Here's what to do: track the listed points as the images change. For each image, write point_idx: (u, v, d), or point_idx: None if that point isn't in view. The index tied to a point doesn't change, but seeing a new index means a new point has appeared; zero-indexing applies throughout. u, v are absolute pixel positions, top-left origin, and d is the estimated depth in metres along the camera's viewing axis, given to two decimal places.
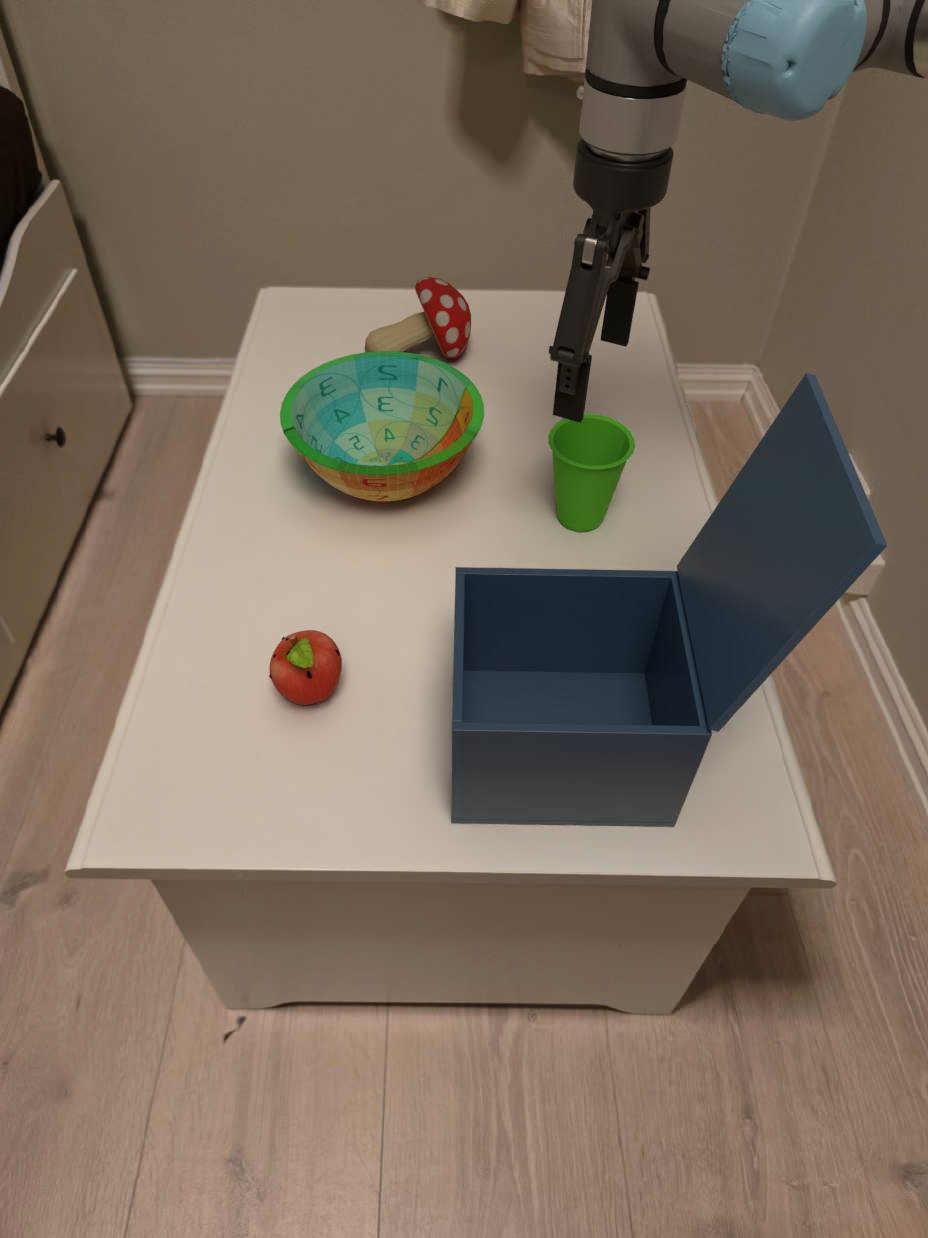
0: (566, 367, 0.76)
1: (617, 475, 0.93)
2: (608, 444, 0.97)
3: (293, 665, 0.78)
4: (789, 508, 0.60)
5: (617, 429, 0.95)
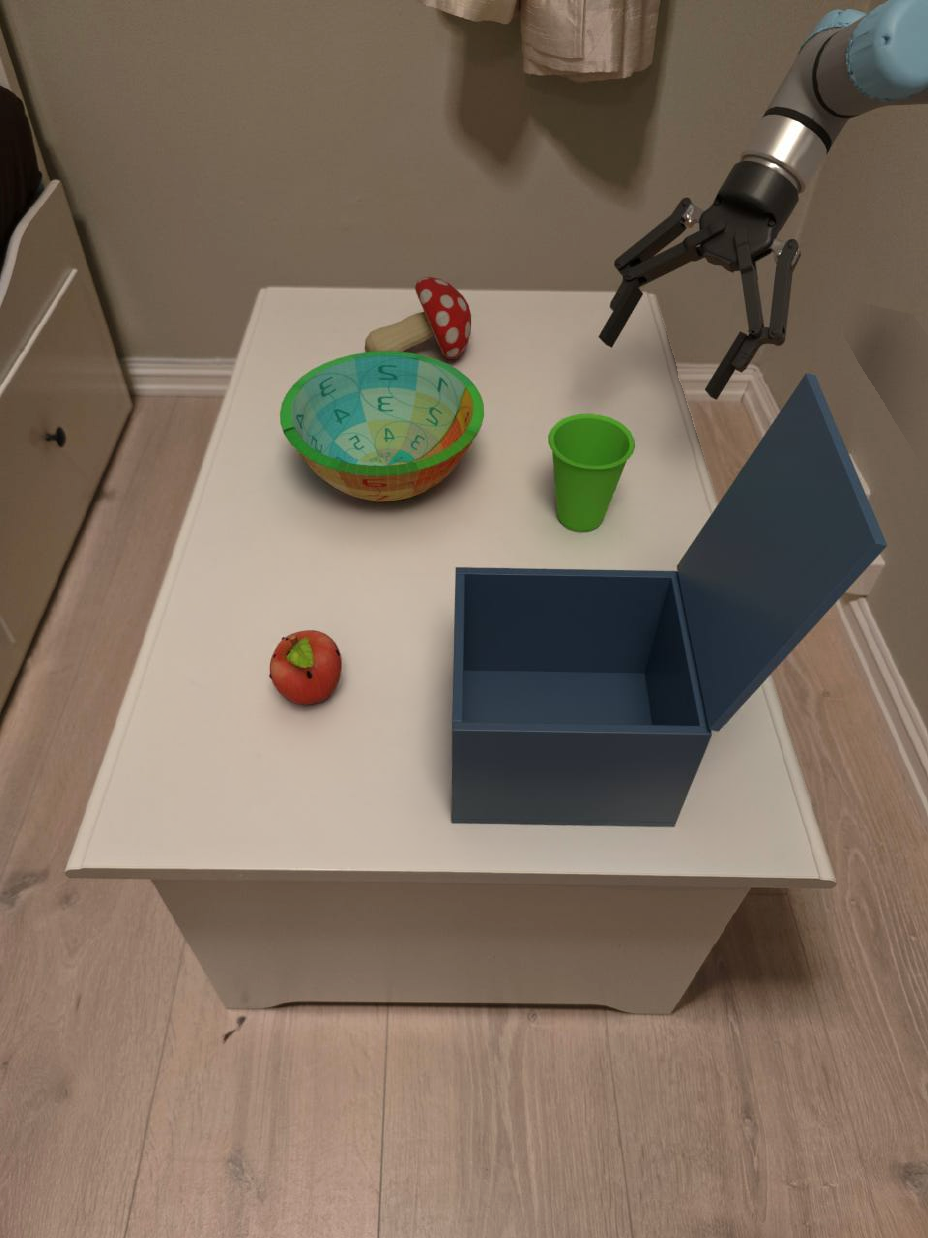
0: None
1: (617, 475, 0.93)
2: (608, 444, 0.97)
3: (293, 665, 0.78)
4: (789, 508, 0.60)
5: (617, 429, 0.95)
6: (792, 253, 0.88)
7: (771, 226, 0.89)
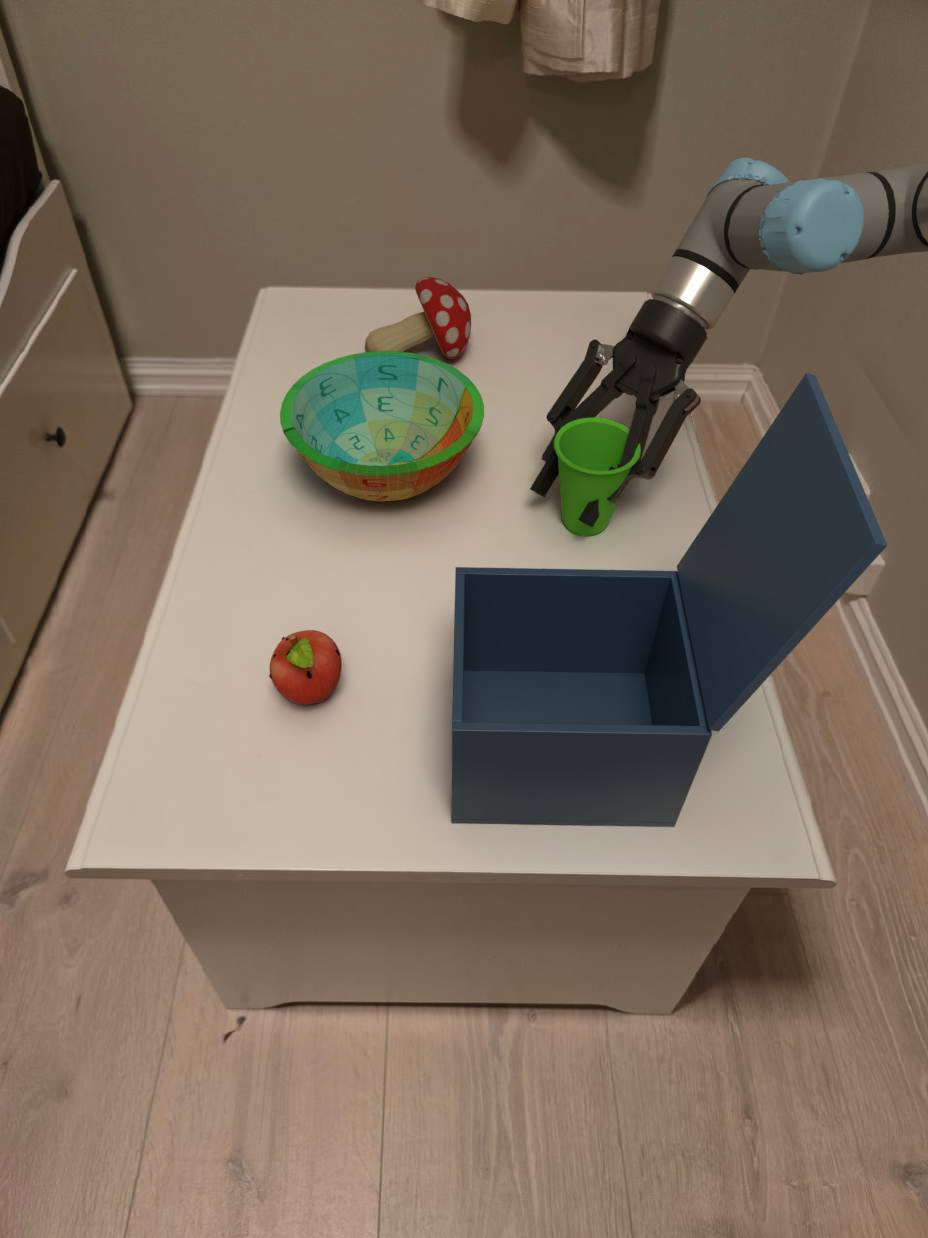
0: None
1: (623, 480, 0.93)
2: (613, 448, 0.96)
3: (293, 665, 0.78)
4: (789, 508, 0.60)
5: (623, 433, 0.94)
6: (686, 403, 0.90)
7: (679, 363, 0.91)
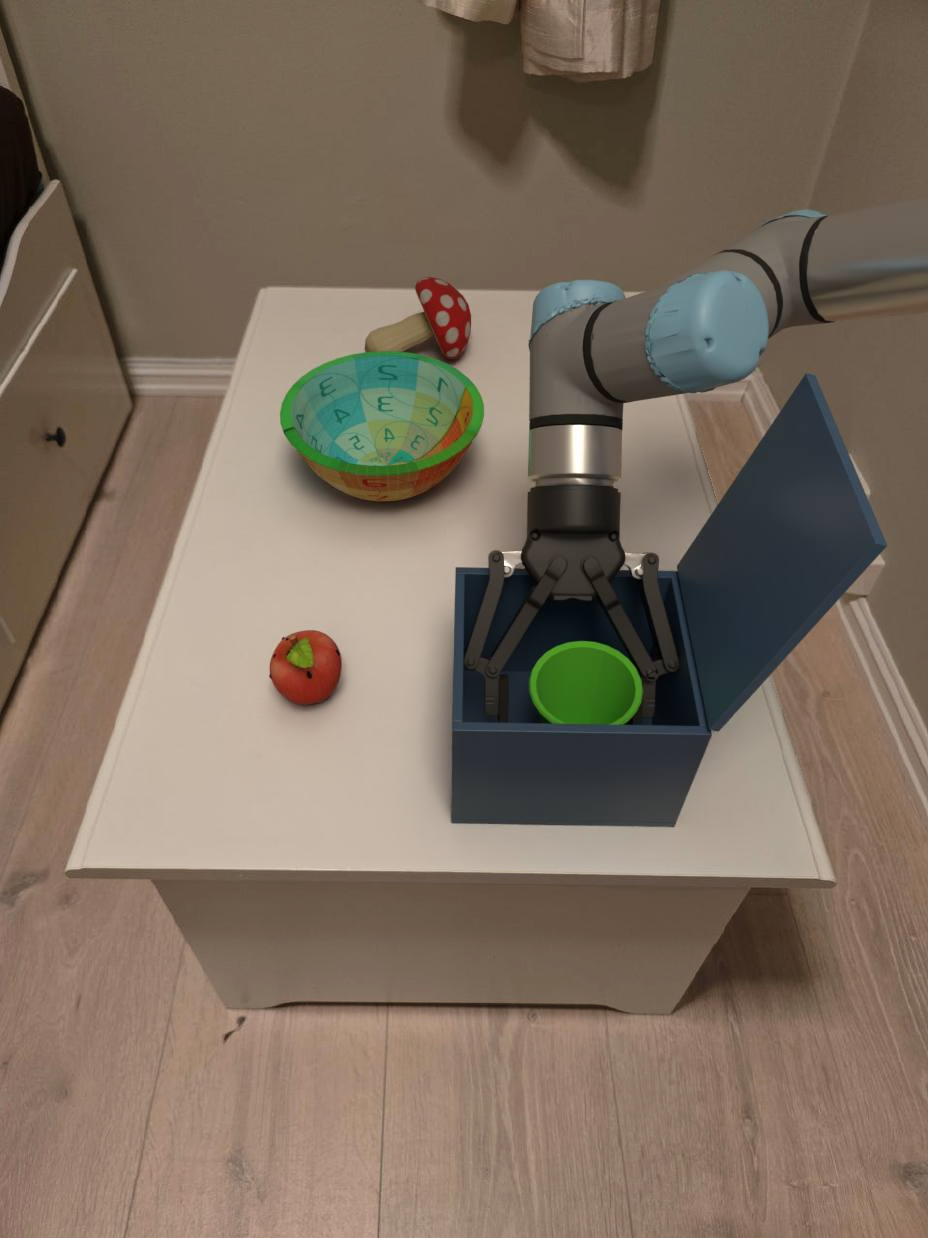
0: None
1: None
2: (578, 669, 0.75)
3: (293, 665, 0.78)
4: (789, 508, 0.60)
5: (587, 650, 0.74)
6: (657, 570, 0.72)
7: (615, 540, 0.72)
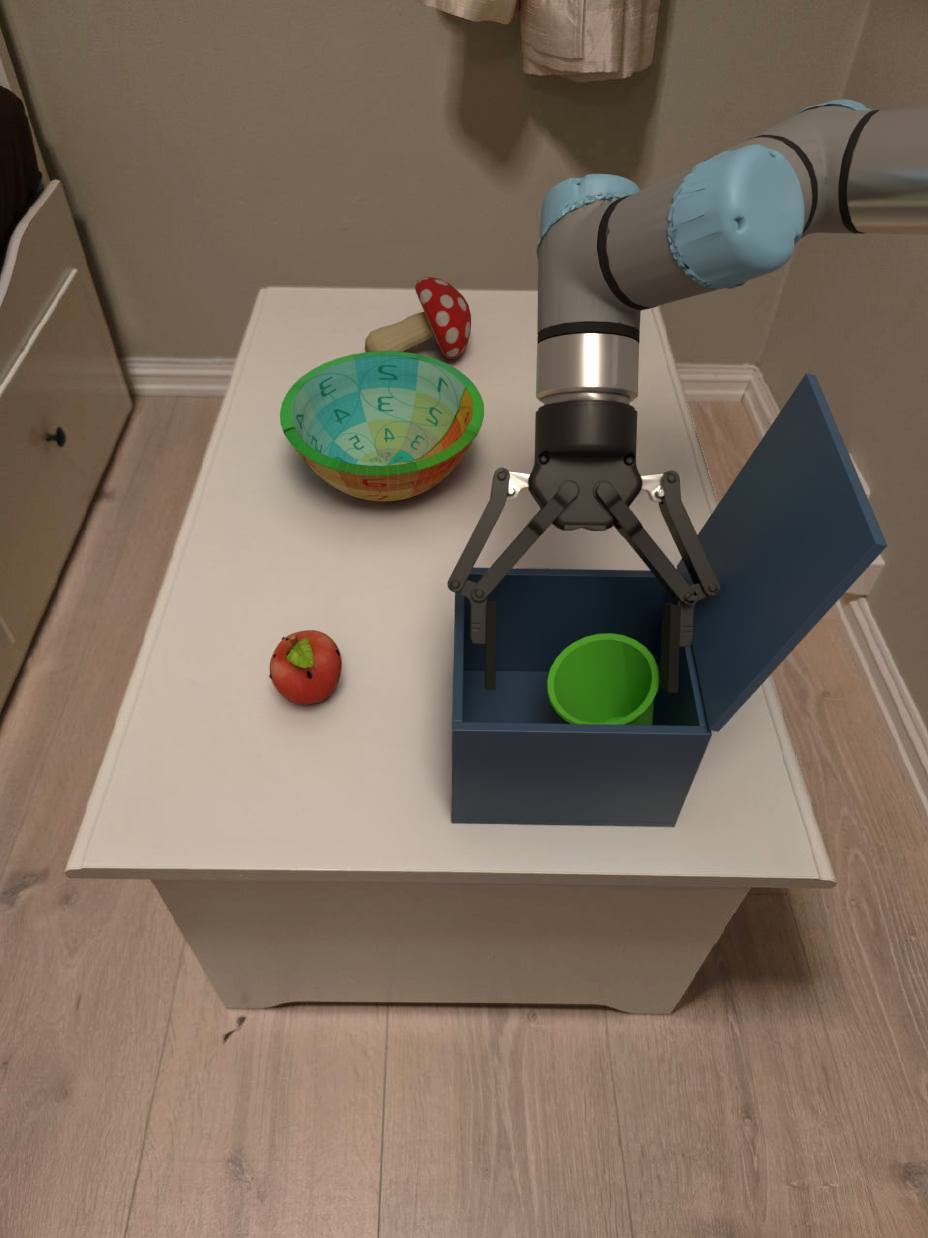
0: None
1: None
2: (602, 660, 0.75)
3: (293, 665, 0.78)
4: (789, 508, 0.60)
5: (605, 642, 0.74)
6: (679, 488, 0.65)
7: (631, 464, 0.66)
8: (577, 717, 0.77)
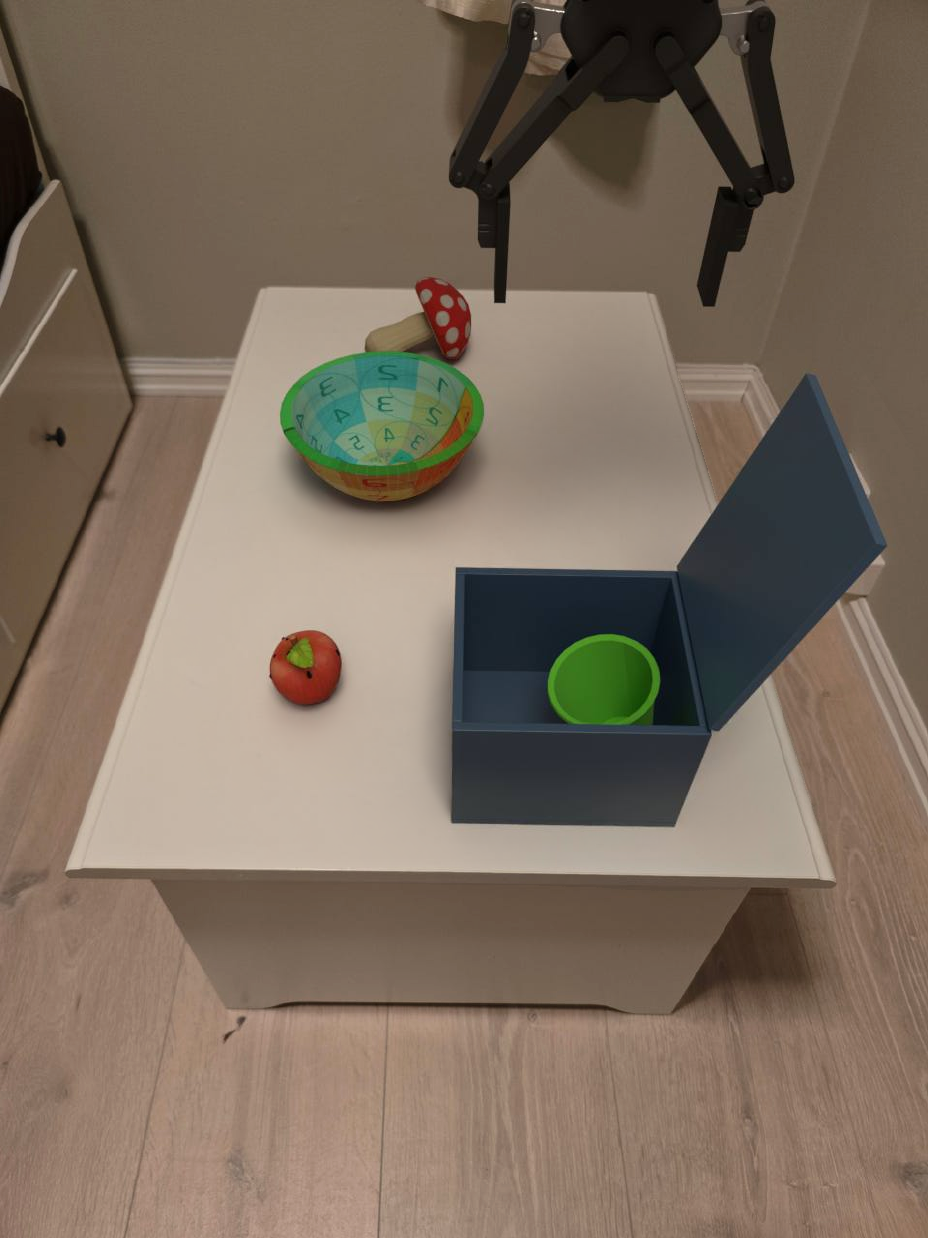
0: None
1: None
2: (603, 661, 0.75)
3: (293, 665, 0.78)
4: (789, 508, 0.60)
5: (606, 643, 0.74)
6: (771, 39, 0.47)
7: None
8: (577, 717, 0.77)
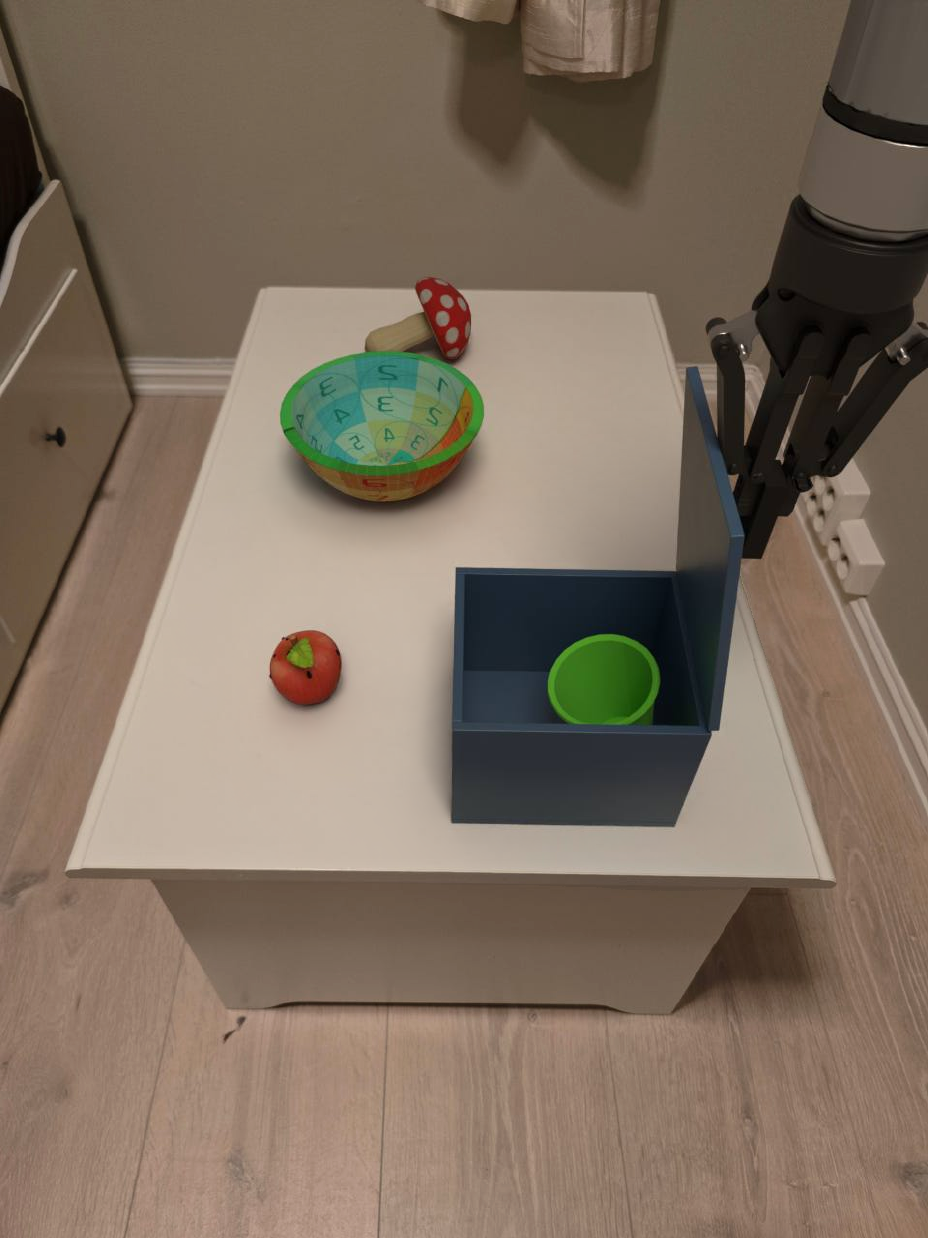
0: (740, 475, 0.58)
1: None
2: (603, 661, 0.75)
3: (293, 665, 0.78)
4: (700, 505, 0.60)
5: (606, 643, 0.74)
6: (922, 369, 0.50)
7: None
8: (577, 717, 0.77)
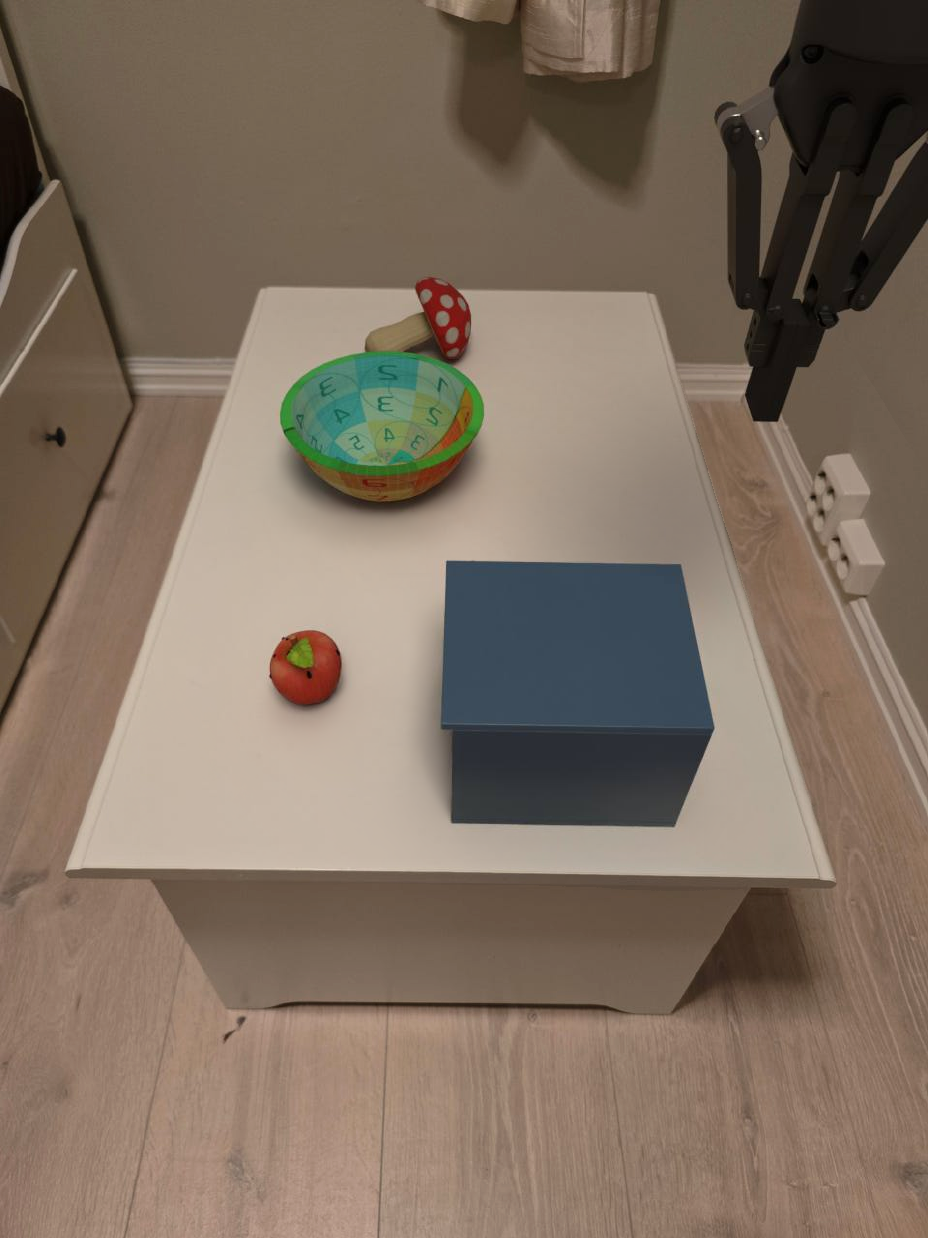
0: (754, 316, 0.50)
1: None
2: None
3: (293, 665, 0.78)
4: None
5: None
6: None
7: None
8: None
